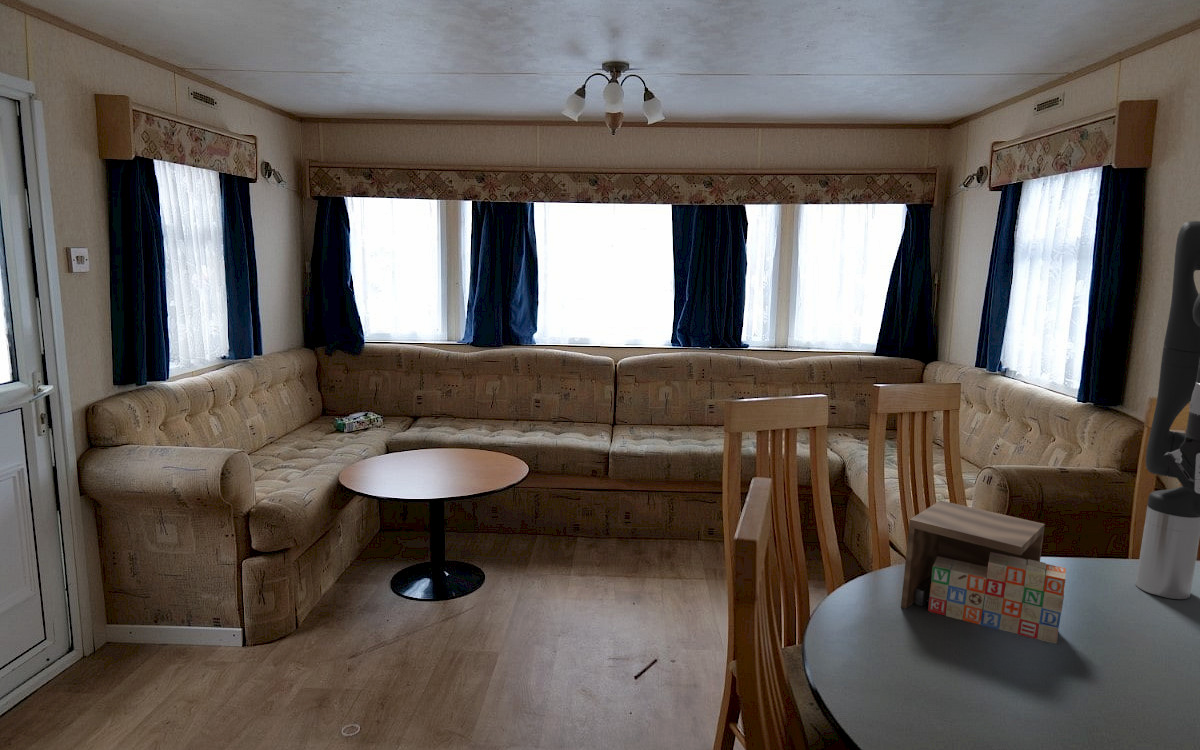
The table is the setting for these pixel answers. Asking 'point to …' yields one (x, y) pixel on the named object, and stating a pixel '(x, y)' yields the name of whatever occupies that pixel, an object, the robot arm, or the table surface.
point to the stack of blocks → (1001, 594)
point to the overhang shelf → (964, 540)
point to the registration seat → (923, 592)
